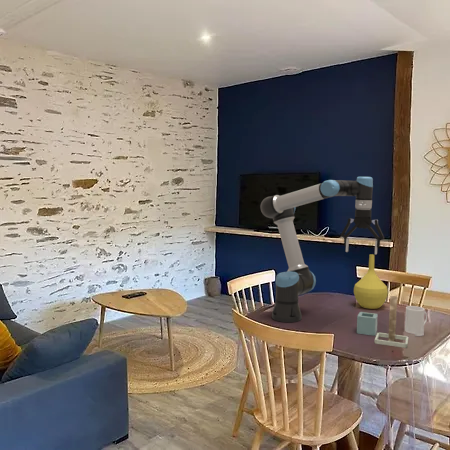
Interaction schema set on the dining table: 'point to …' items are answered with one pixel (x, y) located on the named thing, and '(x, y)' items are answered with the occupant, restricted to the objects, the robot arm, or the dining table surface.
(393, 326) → the dowel
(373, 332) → the teal socket block
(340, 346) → the dining table surface
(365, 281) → the vase
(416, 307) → the mug
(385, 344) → the pale green rectangular frame
